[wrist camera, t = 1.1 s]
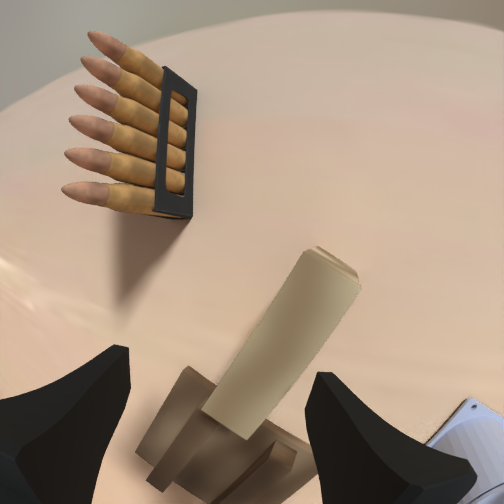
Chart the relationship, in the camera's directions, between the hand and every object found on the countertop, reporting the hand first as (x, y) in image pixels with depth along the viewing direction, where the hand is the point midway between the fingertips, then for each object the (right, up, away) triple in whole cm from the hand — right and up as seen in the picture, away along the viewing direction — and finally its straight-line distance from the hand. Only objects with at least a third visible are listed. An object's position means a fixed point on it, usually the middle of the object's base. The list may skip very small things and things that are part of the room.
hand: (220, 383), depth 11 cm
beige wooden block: (+4, 0, +11) cm, 12 cm away
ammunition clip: (-4, +13, +13) cm, 19 cm away
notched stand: (-1, -14, +13) cm, 19 cm away
